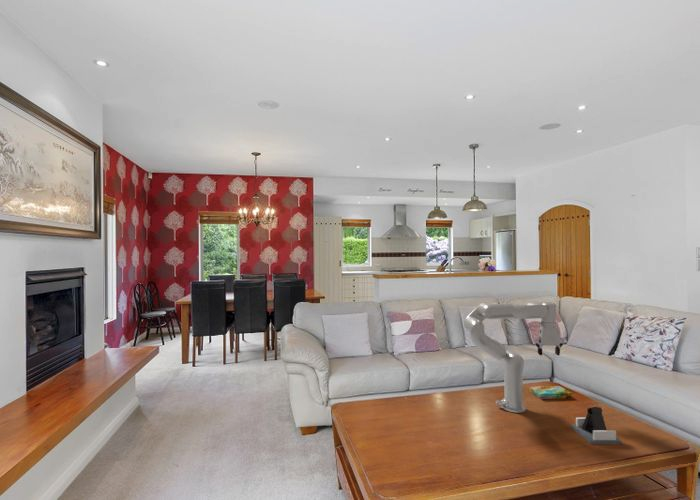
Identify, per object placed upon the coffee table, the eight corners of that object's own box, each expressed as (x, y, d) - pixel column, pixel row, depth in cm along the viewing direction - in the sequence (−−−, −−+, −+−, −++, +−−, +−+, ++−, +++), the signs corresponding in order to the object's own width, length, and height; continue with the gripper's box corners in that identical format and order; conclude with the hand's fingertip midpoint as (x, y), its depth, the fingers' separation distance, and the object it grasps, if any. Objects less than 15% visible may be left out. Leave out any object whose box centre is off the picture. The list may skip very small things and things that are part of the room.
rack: (591, 444, 173) (591, 432, 173) (570, 427, 189) (570, 416, 189) (621, 444, 173) (621, 432, 173) (598, 427, 189) (598, 416, 189)
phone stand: (581, 428, 184) (581, 404, 184) (590, 427, 186) (590, 403, 186) (598, 437, 176) (598, 412, 176) (608, 435, 178) (608, 410, 178)
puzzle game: (529, 385, 235) (559, 384, 236) (529, 393, 235) (559, 392, 236) (540, 392, 223) (572, 391, 225) (540, 400, 223) (572, 399, 225)
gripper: (536, 326, 208) (536, 356, 208) (567, 325, 208) (567, 356, 208) (530, 323, 215) (530, 353, 215) (560, 323, 215) (560, 352, 215)
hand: (548, 354), depth 212 cm, fingers open, 9 cm apart
